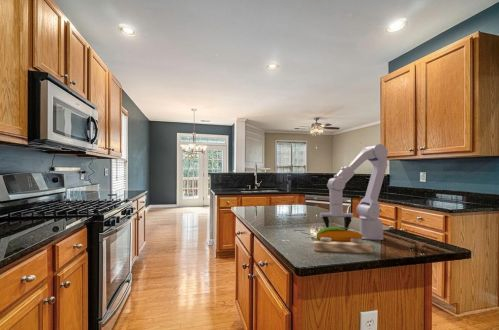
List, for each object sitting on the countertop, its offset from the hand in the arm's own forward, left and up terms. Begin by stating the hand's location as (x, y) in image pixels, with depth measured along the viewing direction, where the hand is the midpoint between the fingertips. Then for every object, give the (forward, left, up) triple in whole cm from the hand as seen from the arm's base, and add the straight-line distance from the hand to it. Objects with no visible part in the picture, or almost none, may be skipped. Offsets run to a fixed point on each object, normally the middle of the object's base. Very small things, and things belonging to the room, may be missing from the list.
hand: (336, 233), depth 115 cm
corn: (0, +6, -3) cm, 7 cm away
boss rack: (0, +14, -3) cm, 15 cm away
